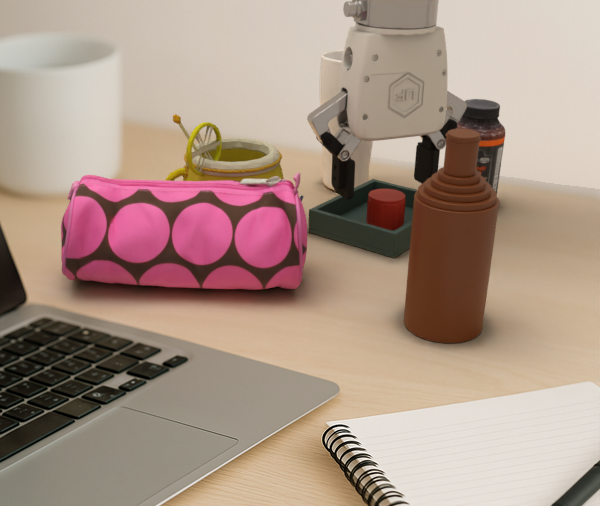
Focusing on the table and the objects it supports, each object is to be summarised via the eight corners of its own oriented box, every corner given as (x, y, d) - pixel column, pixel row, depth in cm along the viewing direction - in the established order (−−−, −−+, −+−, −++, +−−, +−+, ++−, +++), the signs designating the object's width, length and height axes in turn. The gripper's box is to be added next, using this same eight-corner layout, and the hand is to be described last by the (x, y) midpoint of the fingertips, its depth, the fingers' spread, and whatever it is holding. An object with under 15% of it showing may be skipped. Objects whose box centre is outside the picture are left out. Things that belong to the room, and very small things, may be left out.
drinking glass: (379, 180, 99) (388, 52, 92) (366, 198, 94) (374, 63, 87) (325, 173, 101) (329, 47, 94) (309, 191, 95) (312, 58, 88)
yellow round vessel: (267, 200, 93) (267, 93, 87) (300, 237, 84) (302, 120, 78) (153, 213, 89) (145, 101, 83) (175, 253, 80) (168, 130, 74)
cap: (391, 234, 83) (393, 204, 82) (359, 225, 85) (361, 195, 84) (410, 222, 86) (412, 193, 85) (378, 214, 88) (380, 185, 87)
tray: (371, 199, 93) (373, 178, 92) (453, 221, 88) (455, 198, 87) (308, 232, 85) (308, 209, 84) (393, 258, 79) (395, 234, 78)
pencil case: (303, 257, 79) (305, 156, 75) (307, 305, 71) (310, 194, 66) (78, 257, 78) (66, 154, 74) (54, 304, 70) (39, 192, 65)
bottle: (423, 298, 72) (441, 116, 65) (493, 318, 69) (520, 130, 62) (390, 328, 67) (405, 135, 60) (464, 351, 64) (489, 151, 57)
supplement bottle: (439, 210, 91) (449, 107, 86) (444, 192, 96) (454, 94, 91) (494, 215, 90) (508, 112, 84) (496, 197, 95) (509, 98, 90)
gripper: (328, 23, 70) (322, 213, 78) (498, 14, 77) (476, 190, 85) (294, 10, 77) (292, 187, 84) (454, 3, 83) (437, 168, 91)
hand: (384, 188), depth 84 cm, fingers open, 8 cm apart
